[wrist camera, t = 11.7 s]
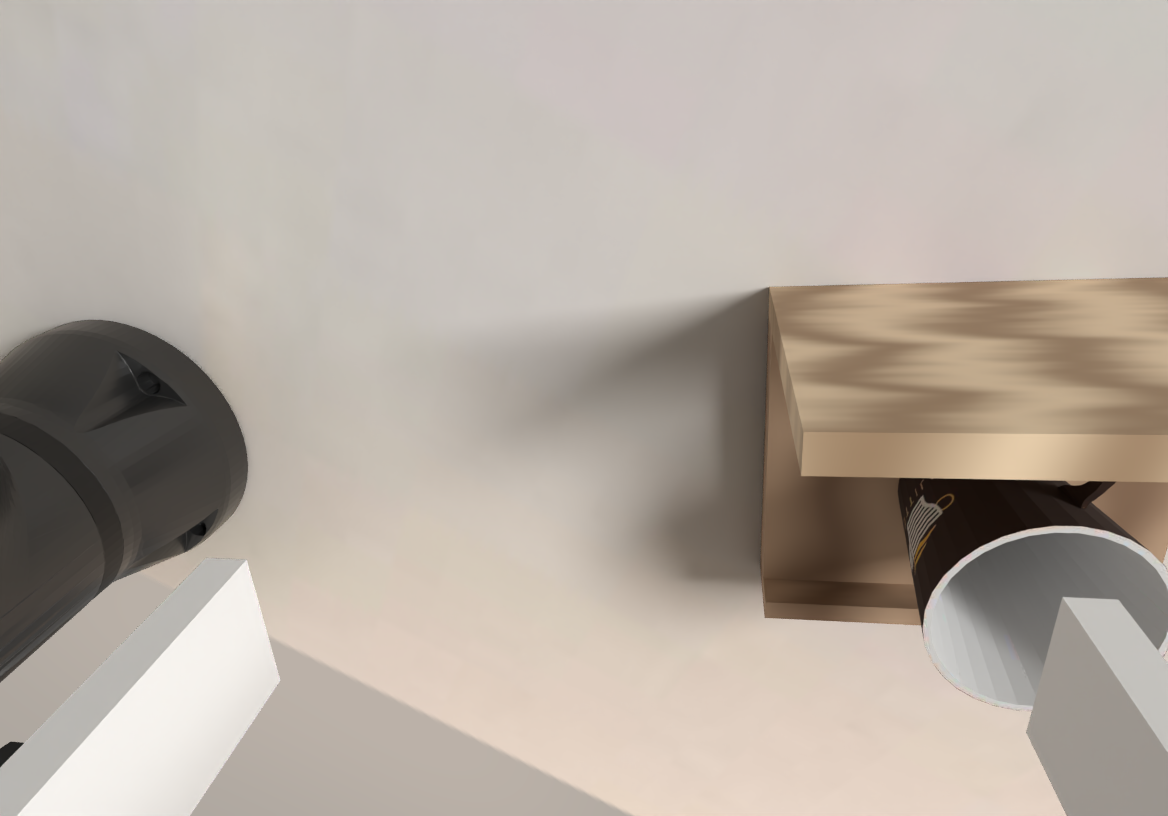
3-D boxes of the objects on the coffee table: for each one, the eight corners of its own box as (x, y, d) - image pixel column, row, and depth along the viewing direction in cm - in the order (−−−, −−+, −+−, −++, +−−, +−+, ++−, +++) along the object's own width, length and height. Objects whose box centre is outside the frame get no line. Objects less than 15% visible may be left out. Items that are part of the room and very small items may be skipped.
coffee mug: (957, 588, 39) (1028, 744, 30) (836, 490, 38) (873, 622, 29) (1164, 441, 35) (1321, 576, 26) (1034, 323, 33) (1151, 421, 24)
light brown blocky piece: (760, 566, 44) (782, 814, 29) (769, 286, 37) (803, 432, 23) (1124, 579, 40) (1349, 865, 26) (1207, 276, 34) (1571, 438, 19)
